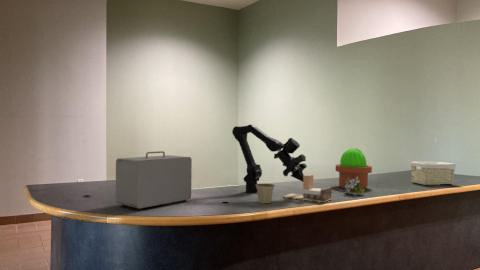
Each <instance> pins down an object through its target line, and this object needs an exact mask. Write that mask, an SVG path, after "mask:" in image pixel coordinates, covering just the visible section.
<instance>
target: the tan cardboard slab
mask: <svg viewBox="0 0 480 270" xmlns="http://www.w3.org/2000/svg"><path fill="white" fill-rule="evenodd" d="M320 189H321V195H320V199H317V198H316V197H315V198H310V197H306V198H304V197H303V194H301V193H300V194H299V193H288V194H284V195H282V198H283V197H285V198H284V199H288V198H292V199H291V200H296V199H300V200H299V201H304V200H310V201H309V202H312V201H318V202H317V203H320V202H326V201H328V200H331V199H333V198H332V187H331V186H330V187H329V186H327V187H324V188H320ZM331 201H332V200H331ZM328 202H329V201H328ZM326 203H327V202H326Z"/></svg>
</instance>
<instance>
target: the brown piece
mask: <svg viewBox="0 0 480 270" xmlns="http://www.w3.org/2000/svg"><path fill="white" fill-rule="evenodd" d="M303 175H304V176H303V182H302V184H303V186H302V187H303V188H302V190H301V191H302V192H301V193H302V195H303V197H304V198H306V197H310V198H315V197H316V198H317V199H320V195H321V189H322V188H318V187H314V174H303Z"/></svg>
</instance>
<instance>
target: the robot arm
mask: <svg viewBox="0 0 480 270" xmlns="http://www.w3.org/2000/svg"><path fill="white" fill-rule="evenodd" d="M231 132H232V135H233V138H234V139H235V140H236V141H237V142H238V143H239V147H240V149H241V152H242V156H243V157H244V161H245V164H246V175H245V176H244V177H243V178H242V179H243V182H244V183H245V191H244V193H246V194H250V193H251V194H258V192H257V188H256V184H258V182H259V181H260V178H261V177H262V175H263V173H262V172H263V170H262V168H261V165H260V164H257V163H256V162H255V159H254V156H253V153H252V151H251V148H250V145H249V142H248V134H250V133H251V134H252V135H254V137H256V138H257V139H259V140H260V142H261V141H262V142H263V143H264V144H265V146H266V147H267V149H268V150H270V152H273V153H274V152H276V153H274V154H273V159H275V160H276V159H278V160H279V161H281V163H282V166H283V167H285V169H284V170H283V171H282V175H283V176H284V177H288V175H289V174H290V173H291V175H290V177H292V178H294V179H297V180H299V181H300V182H302V183H303V176H304V175H305V174H304V173H303V171H304V170H305V169H306V168H307V167H308V165H307V164H306V163H302V162H306V158H307V156H305V154H302V153H301V154H299V155H298V156H296V157H293V156H291V155H290V154H294V153H295V152H296V151H297V150H298V149H299V148H300V146H301V145H300V143H299V142H298V141H297V140H295V139H294V138H292V137H289V138H288V139H287V141H286V142H285V143H283V142H282V141H280V140H278V139H276V138H273V137H271V136H269V135H268V134H267V133H265V132H264V131H262V130H261V129H260V128H258V127H257V126H256V125H255V124H248V125H244V126H243V125H242V126H234V127H233V128H232V130H231Z"/></svg>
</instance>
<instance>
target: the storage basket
mask: <svg viewBox="0 0 480 270" xmlns="http://www.w3.org/2000/svg"><path fill="white" fill-rule="evenodd" d="M410 170H411V182H412V183H414V184H418V185H426V186H435V185H436V186H441V185H440V184H452V185H453V183H454V179H455V178H454V177H455V170H456V163H451V162H444V161H411V162H410Z"/></svg>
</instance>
